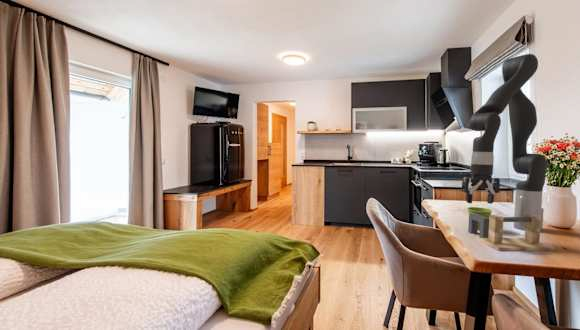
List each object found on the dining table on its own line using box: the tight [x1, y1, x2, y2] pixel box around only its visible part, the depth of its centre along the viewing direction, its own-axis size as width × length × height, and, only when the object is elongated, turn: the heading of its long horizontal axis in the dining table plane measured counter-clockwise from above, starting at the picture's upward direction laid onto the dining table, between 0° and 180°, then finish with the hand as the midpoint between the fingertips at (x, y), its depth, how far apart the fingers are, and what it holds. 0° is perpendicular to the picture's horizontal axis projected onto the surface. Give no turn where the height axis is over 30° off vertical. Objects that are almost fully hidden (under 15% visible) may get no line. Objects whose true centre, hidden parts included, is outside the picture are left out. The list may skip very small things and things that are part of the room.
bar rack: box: [476, 214, 554, 252], centre depth 109 cm, size 20×11×11 cm, turn 92°
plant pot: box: [466, 206, 493, 231], centre depth 132 cm, size 9×9×9 cm
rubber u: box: [467, 213, 489, 238], centre depth 121 cm, size 2×9×8 cm, turn 2°
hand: (479, 203), depth 121 cm, fingers open, 8 cm apart
